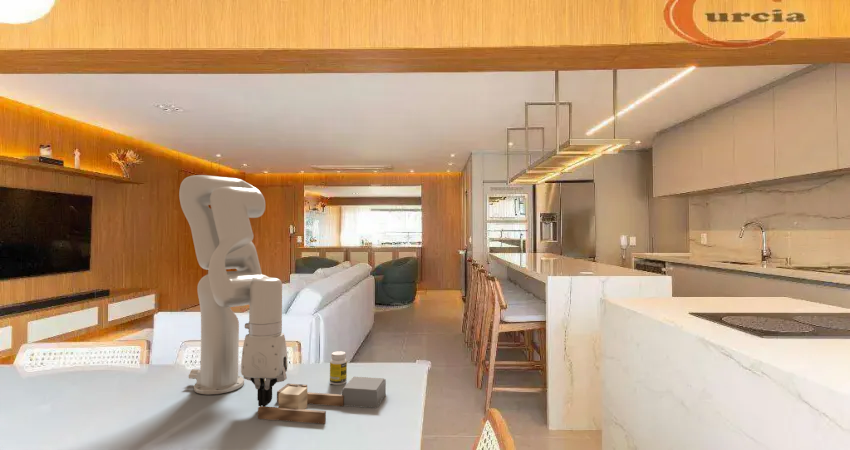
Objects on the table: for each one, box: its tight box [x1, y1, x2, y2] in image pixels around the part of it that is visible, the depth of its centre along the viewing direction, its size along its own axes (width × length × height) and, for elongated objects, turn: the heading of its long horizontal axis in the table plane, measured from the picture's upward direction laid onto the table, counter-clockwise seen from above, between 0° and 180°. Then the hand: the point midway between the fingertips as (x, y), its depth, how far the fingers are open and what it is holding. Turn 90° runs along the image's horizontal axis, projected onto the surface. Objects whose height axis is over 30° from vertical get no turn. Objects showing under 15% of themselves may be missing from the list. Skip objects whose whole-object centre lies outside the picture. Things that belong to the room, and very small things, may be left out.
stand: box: [341, 376, 387, 409], centre depth 113 cm, size 9×9×4 cm
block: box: [277, 386, 308, 410], centre depth 105 cm, size 5×5×5 cm
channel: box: [257, 383, 345, 425], centre depth 107 cm, size 18×16×2 cm
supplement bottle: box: [329, 350, 348, 386], centre depth 125 cm, size 5×5×8 cm
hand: (264, 403), depth 106 cm, fingers closed
